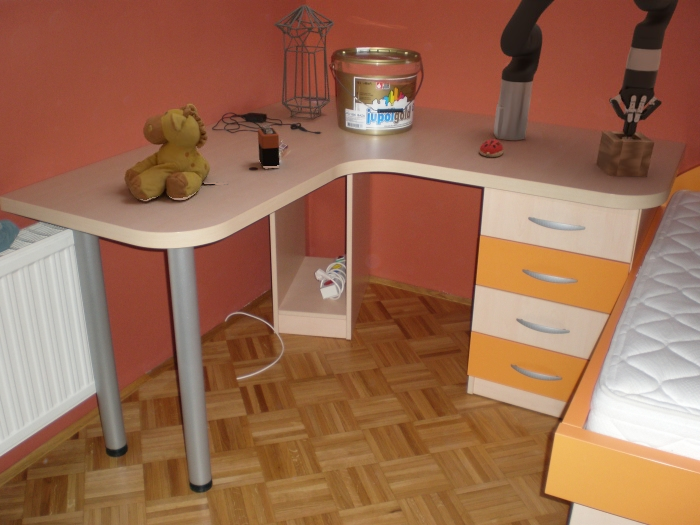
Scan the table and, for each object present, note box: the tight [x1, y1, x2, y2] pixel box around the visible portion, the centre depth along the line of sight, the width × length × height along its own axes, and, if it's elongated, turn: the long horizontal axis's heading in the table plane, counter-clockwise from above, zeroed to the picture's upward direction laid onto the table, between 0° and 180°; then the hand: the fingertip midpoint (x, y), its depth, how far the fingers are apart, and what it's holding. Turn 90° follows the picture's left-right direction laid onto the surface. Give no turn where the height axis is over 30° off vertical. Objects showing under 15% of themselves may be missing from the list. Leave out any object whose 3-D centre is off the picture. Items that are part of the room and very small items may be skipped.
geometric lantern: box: [273, 4, 335, 120], centre depth 213 cm, size 16×16×35 cm
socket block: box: [595, 130, 655, 177], centre depth 173 cm, size 10×10×9 cm
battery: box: [257, 124, 280, 166], centre depth 171 cm, size 4×7×10 cm, turn 17°
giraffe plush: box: [124, 103, 211, 200], centre depth 152 cm, size 20×24×19 cm
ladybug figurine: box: [478, 138, 504, 158], centre depth 186 cm, size 7×10×4 cm
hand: (628, 135), depth 170 cm, fingers closed
